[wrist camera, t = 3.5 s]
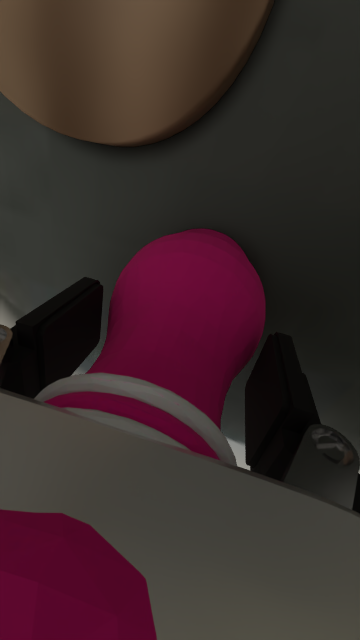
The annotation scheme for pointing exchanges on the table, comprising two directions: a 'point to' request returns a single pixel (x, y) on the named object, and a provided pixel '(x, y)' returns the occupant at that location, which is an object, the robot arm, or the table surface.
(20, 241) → the table surface
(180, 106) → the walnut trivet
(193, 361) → the pepper mill
